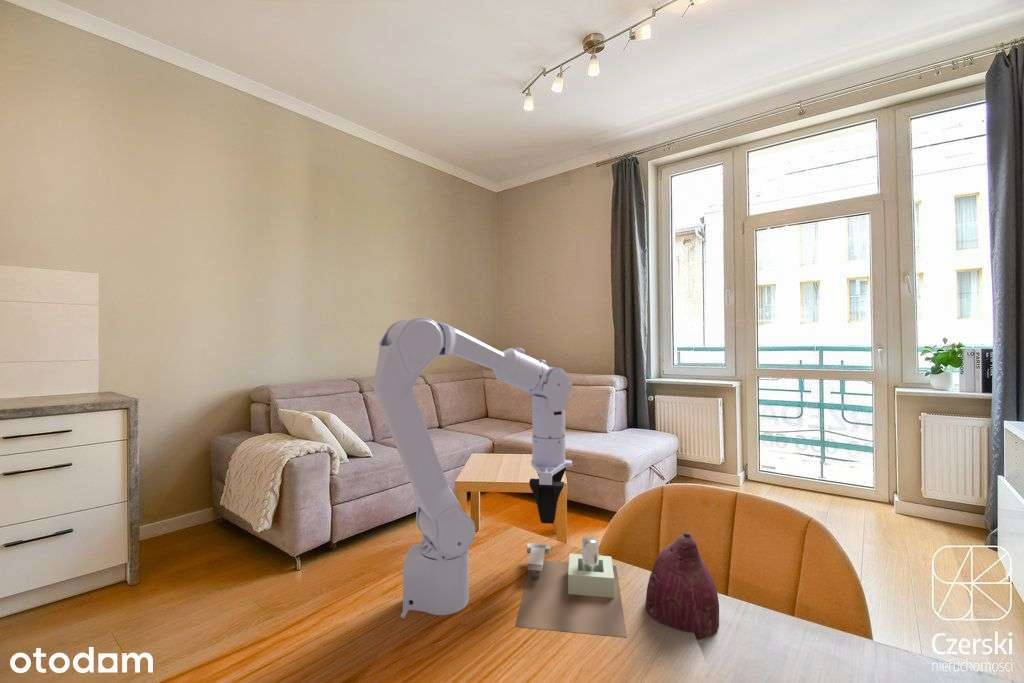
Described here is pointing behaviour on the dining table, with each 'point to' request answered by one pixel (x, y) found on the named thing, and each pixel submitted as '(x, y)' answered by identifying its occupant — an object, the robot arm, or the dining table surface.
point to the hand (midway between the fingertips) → (549, 513)
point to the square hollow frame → (591, 578)
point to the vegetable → (683, 590)
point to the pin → (590, 554)
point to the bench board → (565, 601)
